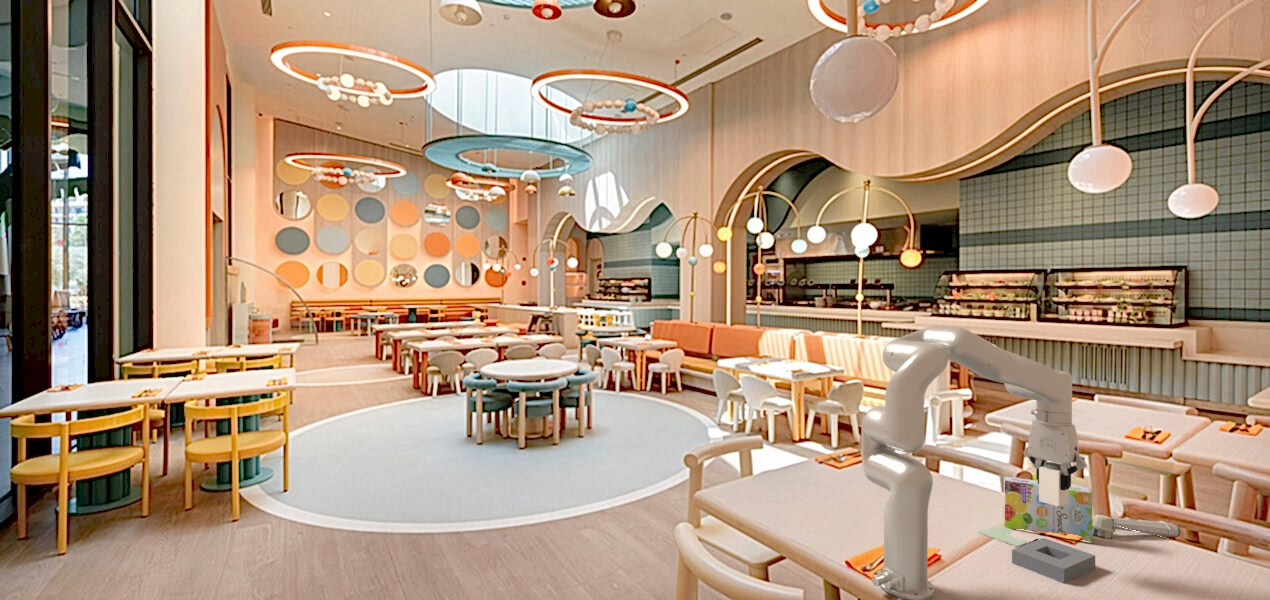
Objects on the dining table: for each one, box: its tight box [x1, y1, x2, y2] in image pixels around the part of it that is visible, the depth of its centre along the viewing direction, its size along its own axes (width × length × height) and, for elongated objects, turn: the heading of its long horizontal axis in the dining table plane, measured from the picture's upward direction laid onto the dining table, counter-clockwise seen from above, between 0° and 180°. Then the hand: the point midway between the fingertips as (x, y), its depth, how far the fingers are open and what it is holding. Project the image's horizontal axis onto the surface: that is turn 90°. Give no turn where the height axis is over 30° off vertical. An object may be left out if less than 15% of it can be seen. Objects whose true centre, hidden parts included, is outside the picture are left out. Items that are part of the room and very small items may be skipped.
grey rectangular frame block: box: [1011, 537, 1096, 584], centre depth 146 cm, size 16×12×4 cm
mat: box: [977, 525, 1030, 547], centre depth 164 cm, size 11×11×1 cm
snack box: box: [1003, 476, 1093, 543], centre depth 167 cm, size 21×6×15 cm, turn 58°
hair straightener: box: [1092, 513, 1182, 539], centre depth 165 cm, size 5×7×25 cm
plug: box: [1039, 461, 1068, 507], centre depth 146 cm, size 5×5×10 cm
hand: (1053, 485), depth 146 cm, fingers closed on plug, 4 cm apart
